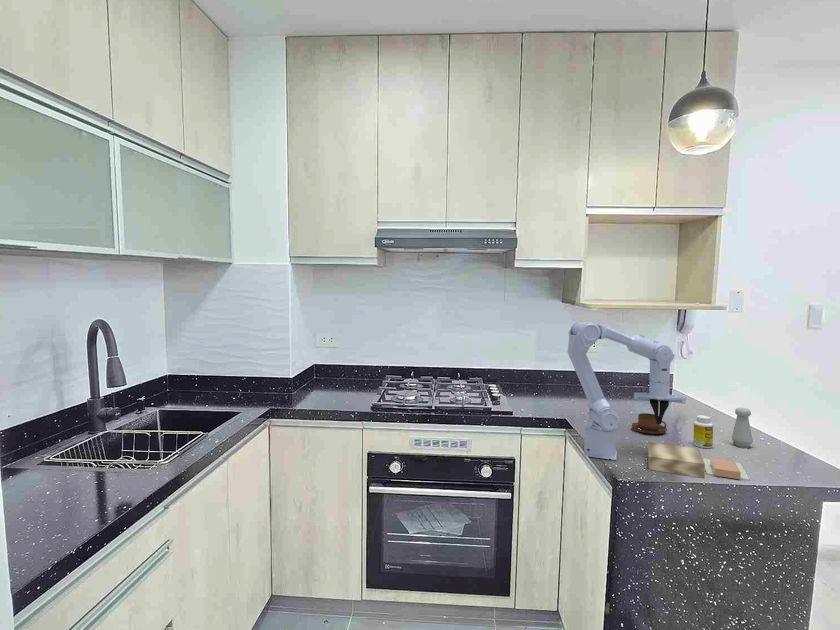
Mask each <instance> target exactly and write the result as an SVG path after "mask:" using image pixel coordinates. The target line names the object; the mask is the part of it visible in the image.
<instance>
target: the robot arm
mask: <svg viewBox="0 0 840 630" xmlns="http://www.w3.org/2000/svg"><path fill="white" fill-rule="evenodd" d="M568 337H569V338H568V343H567V344H568V345H567V354H568V357H569V359H570V363H572V366H573V369H574V371H575V373H576V375H577V378H578V380H579V382H580V385H581V387H582V390H583V392H584V394H585V397H586V399H587V401H588V402H587V407H588V416H589V419H590V420H591V421H592V422H591V425H585V426H584V435H583V436H584V437H583V438H584V439H583V440H584V443H583V448H584V449H583V456H584V457H591V458H597V459H604V460H609V459H611V460H610V461H616V460H617V456H618V451H617V450H616V437H617V436H616V434H617V432H616V430H617V429H616V428H618V426H619V424H620V417H619V414H617V412H615V411H614V410H613V409H612V406H611V405H610V403H609V402H608V400H607V399H606V398H605V396H604V393H603V391H602V388H601V385H600V383H599V381H598V379H597V376H596V373H595V372H594V368H593V367H592V365H591V362H590V361H589V358H588V356H587V353H588V351H589V349H590V348H591V347H592V346H593V345H594V344H595V343H596V342H597V341H598V340H604V339H607V340H610V341H613V342H616V343H618V344H622V345H624V346H626V347H627V350H628V351H629V352H631V353H633V354H636V355H638V356H641V357H644V358H646V359H648V360H649V384H648V385H649V388H648V390H649V391H648V392H633V398H634V399H633V400H642V401H643V400H645V401H649V404H650V406H651V408H652V411H653V414H655V417H656V424H660V425H662V424H663V422H662V421H663V417H664V415H665V413H666V411H667V409H668V407H669V405H670V403H678V404H684V405H686V404H687V403H686V396H683V395H682V396H681V395H675V394H670V385H671V384H670V379H671V363H672V361H673V360H674V358H675V354H674V352H673V349H671V347H670V346H668V345H664V344H660V343H659V341H658V340H652V339H648V338H646V336H645V335H643V334H634V335H632V336H629V335H627V334H625V333H623V332H620V331H618V330H616V329H613V328H611V327H609V326H606V325H604V324H603V325H602V324H598V323H595V322H591V321H590V322H586V321H583V320H579V321H576V322H574V323H573V324H572V325H571V327H570V329H569V330H568Z"/></svg>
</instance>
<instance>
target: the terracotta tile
mask: <svg viewBox="0 0 840 630" xmlns="http://www.w3.org/2000/svg"><path fill="white" fill-rule="evenodd" d="M736 463H737V462H735V461H733V460H727V459H719V458H712V457H710V465H711V468H712V470H713V472H714V475H713V476H716V477H721V478H722V477H723V478H729V479H734V480H735V479H736V480H742V479H741V472H740V470H739V468H738V467H737V465H736Z"/></svg>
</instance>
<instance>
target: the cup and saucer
mask: <svg viewBox="0 0 840 630" xmlns="http://www.w3.org/2000/svg"><path fill="white" fill-rule="evenodd" d="M637 419H638V420H637V422H634V423H631V428H632V429H634V431H637V432H640V433H643V434H648V435H661V434H665V433H666V432H667V430H668V428H667V423H666V421H664V420H662V424H663V425H662V424H656V417H655V414H654V413H649V412H648V413H645V412H643V413H638V414H637ZM638 428H640V429H641V430H640V429H638Z"/></svg>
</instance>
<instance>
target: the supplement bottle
mask: <svg viewBox="0 0 840 630" xmlns="http://www.w3.org/2000/svg"><path fill="white" fill-rule="evenodd" d="M711 421H712V420H711V417H710V416H709V415H708V416H707V415H702V414H700V415H696V420H695V421H693V445H694V446H695V447H697V448H699V449H700V448H701V449H712V447H713V446H714V445H713V442H714V441H713V440H714V438H713V437H714V423H713V422H711Z"/></svg>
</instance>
